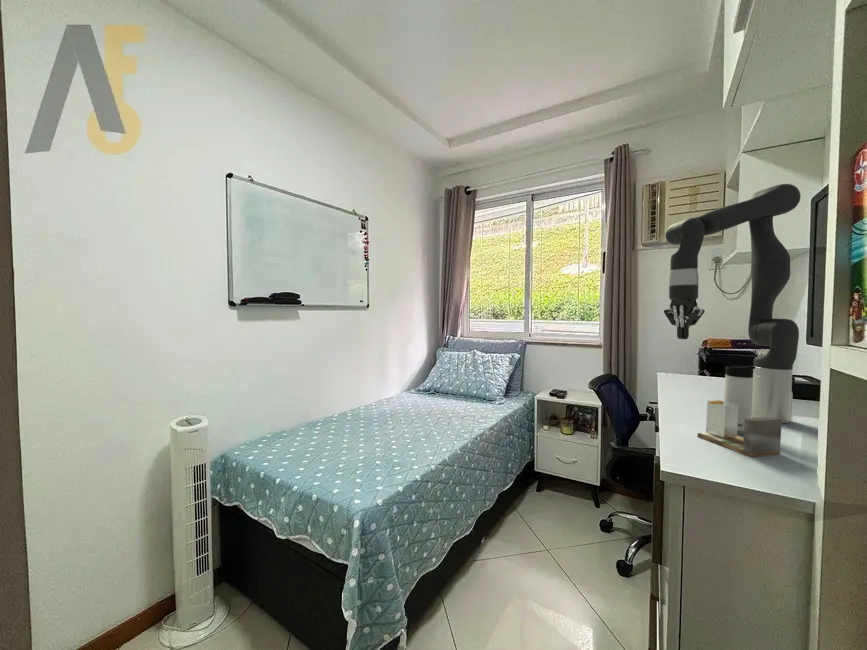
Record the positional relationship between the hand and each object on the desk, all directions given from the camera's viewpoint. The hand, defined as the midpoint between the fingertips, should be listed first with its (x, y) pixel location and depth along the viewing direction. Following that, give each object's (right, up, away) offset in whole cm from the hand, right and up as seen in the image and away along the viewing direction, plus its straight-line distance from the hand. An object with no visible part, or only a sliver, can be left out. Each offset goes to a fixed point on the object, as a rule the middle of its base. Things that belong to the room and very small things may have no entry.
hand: (682, 339), depth 111 cm
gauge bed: (+2, -28, -18) cm, 33 cm away
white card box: (0, -26, -14) cm, 30 cm away
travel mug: (+11, -27, -7) cm, 30 cm away
